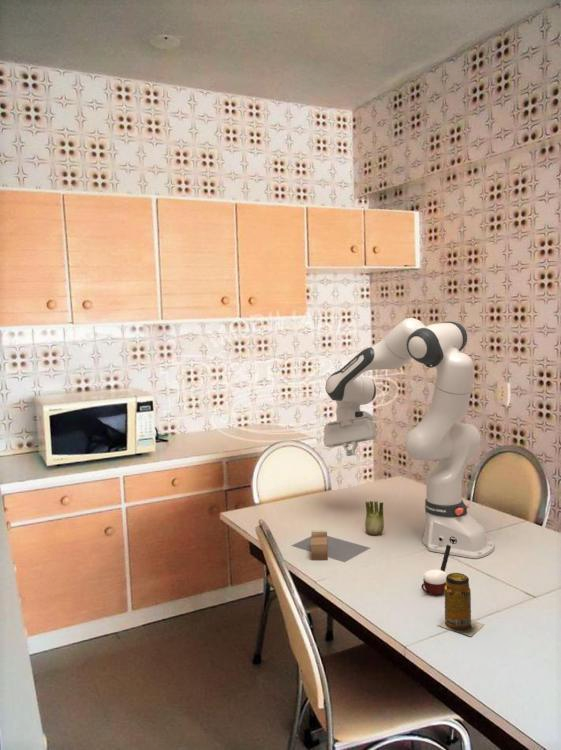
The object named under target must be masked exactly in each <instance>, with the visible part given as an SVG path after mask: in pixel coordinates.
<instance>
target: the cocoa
mask: <svg viewBox="0 0 561 750" xmlns="http://www.w3.org/2000/svg"><path fill="white" fill-rule="evenodd" d="M450 549H451V546H449V545H447V546H446V550H445V553H443V554H444V555H443V558H442V562H441V566H440V569H430V570H427V571H425V572H424V573H423V583H422V584H421V589H422V591H423V592H425V593H427V594H430V595H431V596H432V595H433V596H440V595H443V594H445V586H446V577H447V575H448V573H447V572H446V569H447V563H448V560H449V556H450V554H449V553H450Z"/></svg>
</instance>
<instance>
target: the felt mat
mask: <svg viewBox="0 0 561 750" xmlns="http://www.w3.org/2000/svg"><path fill="white" fill-rule="evenodd" d="M291 547H294V548H297V549H300V550H304V551H306V552H310V553H311V536H309V537H307V538H304V539H303V540H300V541H298V542H296V543H293V544H291ZM327 547H328V558H330V559H332V560H336V561H339V562H343V563H346V562H348V561H349V560H352V559H353V558H355V557H357V556H358V555H360V554H362V553H365V552H366V551H368V550H369V549H371V547H369V546H365V545H362V544H359V543H354V542H350V541H347V540H344V539H340V538H338V537H337V538H336V537H334V536H333V537H332V536H329V535H327Z"/></svg>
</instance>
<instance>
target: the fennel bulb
mask: <svg viewBox="0 0 561 750" xmlns="http://www.w3.org/2000/svg"><path fill="white" fill-rule="evenodd" d="M365 510H366V512H365V522H364V523H365V524H364V526H365V527H364V528H365V531H366V534H368V535H369V536H372V537H373V536H375V537H377V536H379V537H380V536H381V535H382V534H383V531H384V529H385V528H384V527H385V518H384V502H383V501H379V502H378V501H377V500H375V501H373V500H371V501H365Z"/></svg>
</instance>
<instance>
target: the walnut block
mask: <svg viewBox="0 0 561 750" xmlns="http://www.w3.org/2000/svg"><path fill="white" fill-rule="evenodd" d="M310 534H311V535H310V537H311V552H310V554H311V555H310V556H311V557H310V558H311V559H310V560H311V561H328V558H329V557H328V547H327V536H328V530H326V529H325V530H311V533H310Z"/></svg>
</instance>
